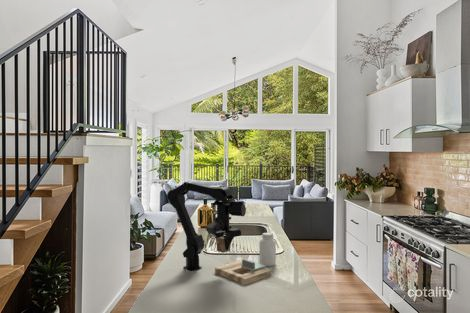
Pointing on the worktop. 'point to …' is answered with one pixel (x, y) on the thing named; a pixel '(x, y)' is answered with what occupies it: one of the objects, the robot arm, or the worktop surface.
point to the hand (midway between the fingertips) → (223, 248)
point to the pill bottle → (267, 250)
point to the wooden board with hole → (235, 268)
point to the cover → (251, 265)
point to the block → (221, 245)
